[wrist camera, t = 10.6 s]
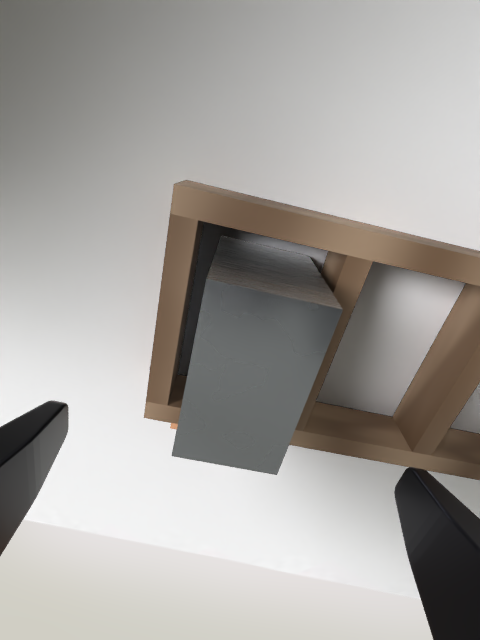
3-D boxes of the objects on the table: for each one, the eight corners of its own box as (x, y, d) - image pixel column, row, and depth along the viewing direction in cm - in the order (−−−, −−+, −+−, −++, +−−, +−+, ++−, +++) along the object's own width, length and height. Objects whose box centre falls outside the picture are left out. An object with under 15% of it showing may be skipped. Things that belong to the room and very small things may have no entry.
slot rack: (636, 289, 15) (704, 311, 13) (500, 460, 20) (532, 498, 18) (186, 179, 14) (174, 183, 11) (155, 394, 18) (142, 426, 16)
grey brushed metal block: (308, 255, 15) (342, 309, 10) (268, 379, 18) (276, 475, 13) (221, 235, 15) (206, 278, 9) (194, 365, 18) (171, 455, 12)
